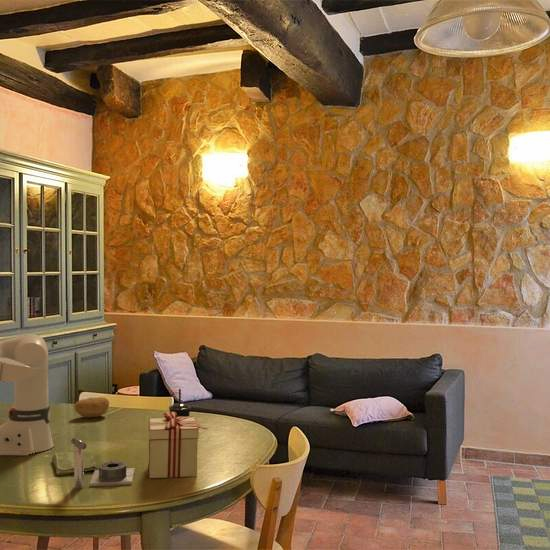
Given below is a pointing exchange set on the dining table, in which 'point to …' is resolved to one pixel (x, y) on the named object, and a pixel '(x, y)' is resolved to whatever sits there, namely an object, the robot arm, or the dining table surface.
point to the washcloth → (72, 462)
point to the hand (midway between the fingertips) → (36, 369)
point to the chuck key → (78, 463)
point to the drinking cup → (180, 408)
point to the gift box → (173, 446)
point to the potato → (92, 407)
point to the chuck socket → (112, 474)
